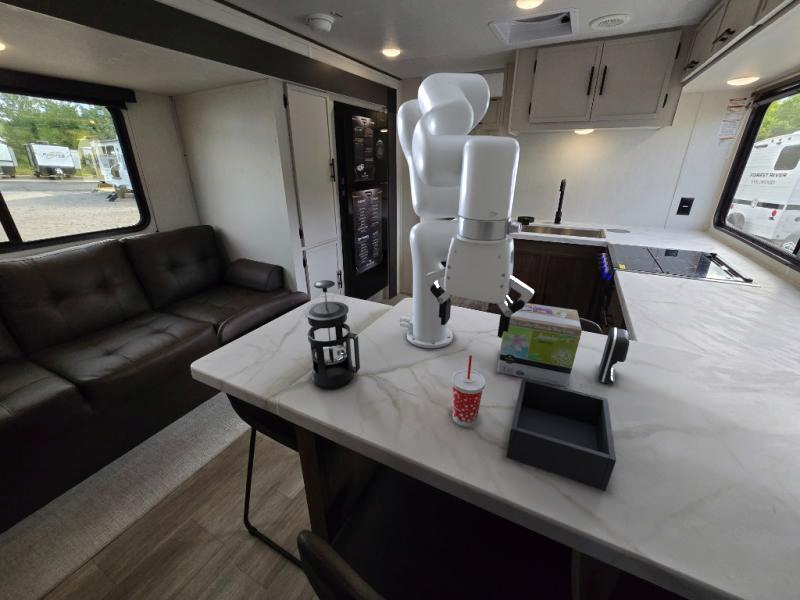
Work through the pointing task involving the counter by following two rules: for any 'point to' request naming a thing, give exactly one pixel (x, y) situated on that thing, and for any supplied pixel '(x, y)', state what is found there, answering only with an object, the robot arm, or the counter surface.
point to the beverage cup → (467, 395)
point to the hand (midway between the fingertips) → (472, 327)
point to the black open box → (563, 433)
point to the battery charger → (613, 354)
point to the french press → (331, 342)
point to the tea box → (541, 344)
